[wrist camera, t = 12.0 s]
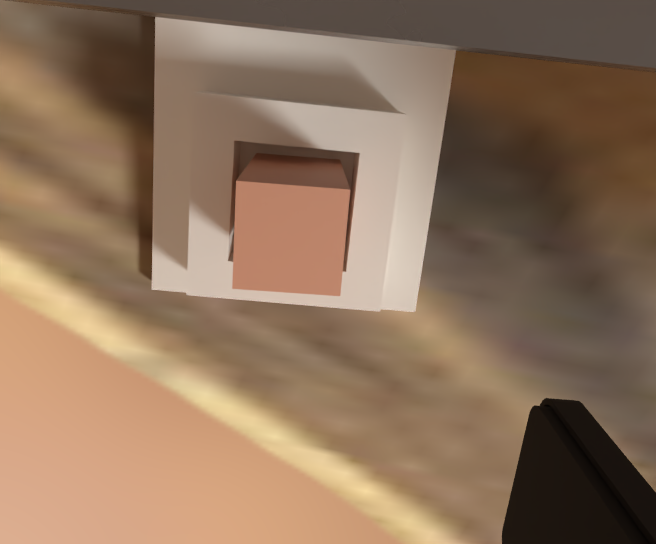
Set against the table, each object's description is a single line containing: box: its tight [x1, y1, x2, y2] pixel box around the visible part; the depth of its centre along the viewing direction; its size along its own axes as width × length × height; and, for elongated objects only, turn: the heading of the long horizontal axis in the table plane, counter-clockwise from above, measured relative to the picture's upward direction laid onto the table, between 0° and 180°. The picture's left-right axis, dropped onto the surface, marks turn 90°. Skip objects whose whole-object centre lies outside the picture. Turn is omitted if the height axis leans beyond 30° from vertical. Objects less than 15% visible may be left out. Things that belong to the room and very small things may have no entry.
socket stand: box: [152, 17, 456, 312], centre depth 30 cm, size 15×20×4 cm
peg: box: [232, 153, 350, 296], centre depth 28 cm, size 4×4×9 cm
